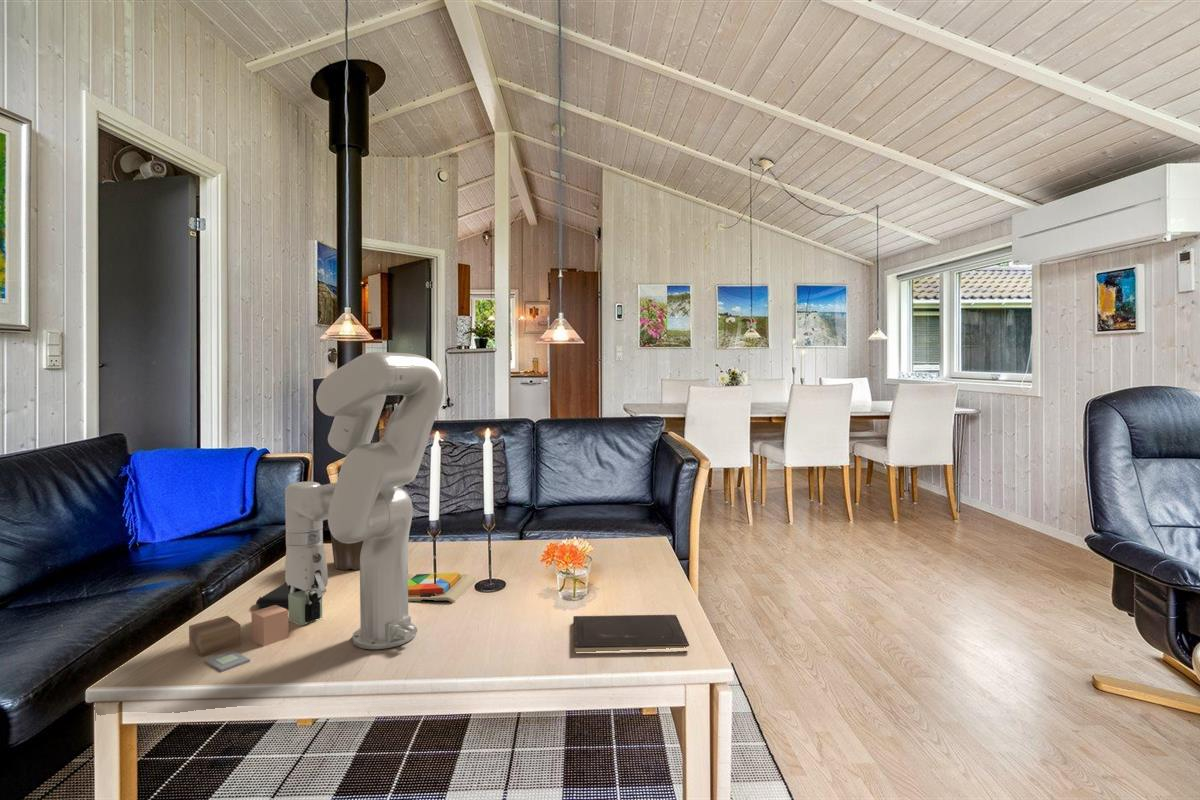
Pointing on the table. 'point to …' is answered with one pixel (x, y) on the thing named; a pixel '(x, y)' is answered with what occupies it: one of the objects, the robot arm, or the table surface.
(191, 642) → the walnut base
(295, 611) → the sage block
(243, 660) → the card
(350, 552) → the plant pot
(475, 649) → the table surface
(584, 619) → the hardcover book
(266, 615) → the terracotta block
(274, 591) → the carrying case or bag
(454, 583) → the wooden puzzle
